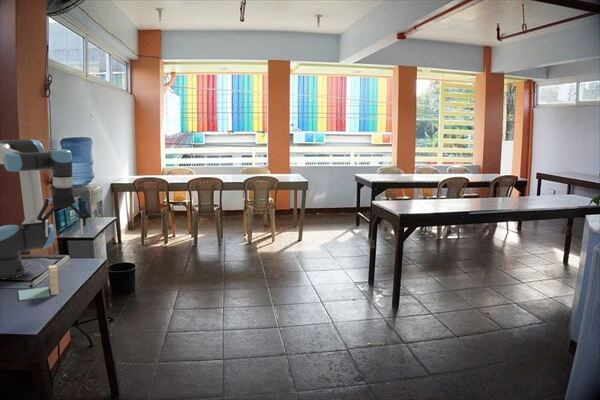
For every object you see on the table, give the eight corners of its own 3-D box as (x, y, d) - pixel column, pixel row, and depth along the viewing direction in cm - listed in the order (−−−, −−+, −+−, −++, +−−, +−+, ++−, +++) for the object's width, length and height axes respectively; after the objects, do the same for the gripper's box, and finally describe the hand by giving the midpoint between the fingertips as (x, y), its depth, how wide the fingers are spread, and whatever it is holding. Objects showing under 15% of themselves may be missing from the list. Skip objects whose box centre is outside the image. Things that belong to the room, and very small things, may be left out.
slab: (49, 288, 212) (48, 265, 210) (57, 287, 214) (56, 264, 212) (51, 295, 206) (50, 271, 204) (59, 293, 207) (58, 270, 205)
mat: (18, 291, 207) (18, 290, 207) (47, 287, 213) (47, 286, 213) (19, 300, 198) (19, 299, 198) (50, 296, 204) (50, 295, 204)
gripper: (29, 188, 191) (31, 239, 195) (96, 186, 203) (97, 234, 207) (28, 185, 197) (31, 234, 201) (93, 184, 210) (94, 230, 214)
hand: (64, 234), depth 204 cm, fingers open, 13 cm apart
